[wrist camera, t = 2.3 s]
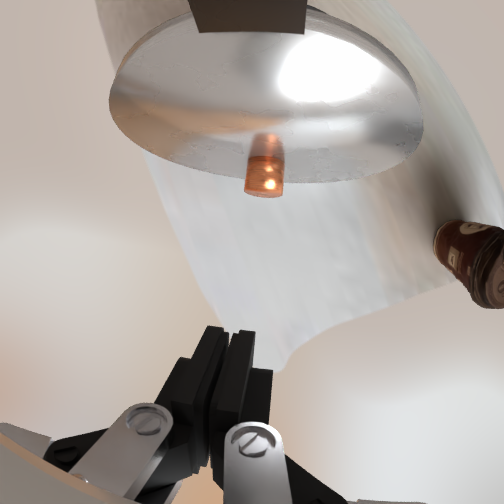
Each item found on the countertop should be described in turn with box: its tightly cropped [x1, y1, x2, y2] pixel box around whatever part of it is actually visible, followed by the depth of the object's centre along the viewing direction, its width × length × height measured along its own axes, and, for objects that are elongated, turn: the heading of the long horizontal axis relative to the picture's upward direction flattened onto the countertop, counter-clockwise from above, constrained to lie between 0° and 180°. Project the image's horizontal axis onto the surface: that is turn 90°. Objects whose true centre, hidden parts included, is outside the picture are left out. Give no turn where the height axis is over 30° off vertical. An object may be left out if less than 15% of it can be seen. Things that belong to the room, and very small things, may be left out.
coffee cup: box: [433, 220, 504, 309], centre depth 26 cm, size 9×8×13 cm
